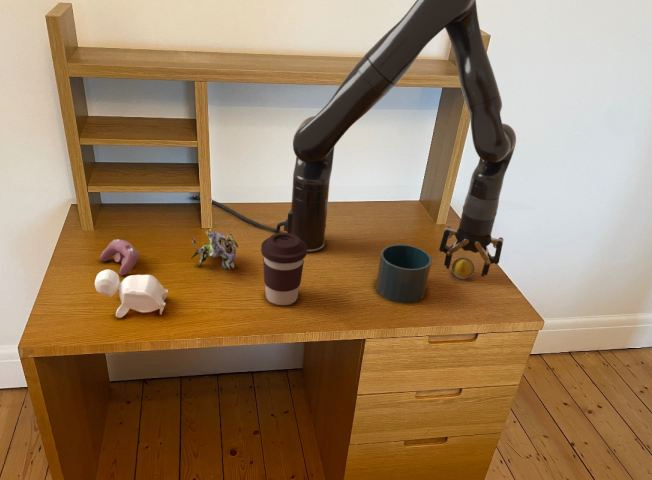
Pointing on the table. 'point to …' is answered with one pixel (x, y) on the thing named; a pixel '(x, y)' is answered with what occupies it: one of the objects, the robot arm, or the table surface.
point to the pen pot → (403, 273)
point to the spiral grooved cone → (463, 268)
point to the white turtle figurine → (132, 291)
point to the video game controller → (121, 255)
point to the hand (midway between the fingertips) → (465, 271)
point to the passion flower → (218, 249)
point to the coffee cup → (283, 267)
